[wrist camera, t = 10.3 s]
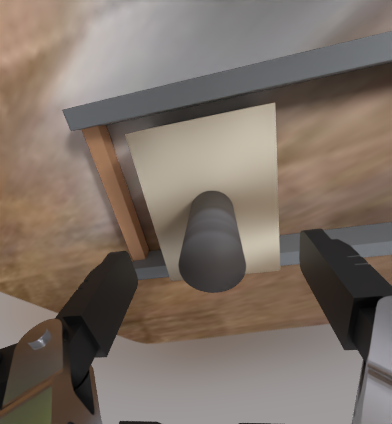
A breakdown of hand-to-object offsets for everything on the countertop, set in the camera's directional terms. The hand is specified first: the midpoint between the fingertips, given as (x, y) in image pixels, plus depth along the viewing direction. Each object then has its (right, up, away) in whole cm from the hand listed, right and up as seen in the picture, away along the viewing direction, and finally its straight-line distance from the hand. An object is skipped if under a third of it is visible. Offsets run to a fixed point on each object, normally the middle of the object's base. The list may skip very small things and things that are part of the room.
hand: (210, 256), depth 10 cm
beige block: (+1, +5, +11) cm, 12 cm away
